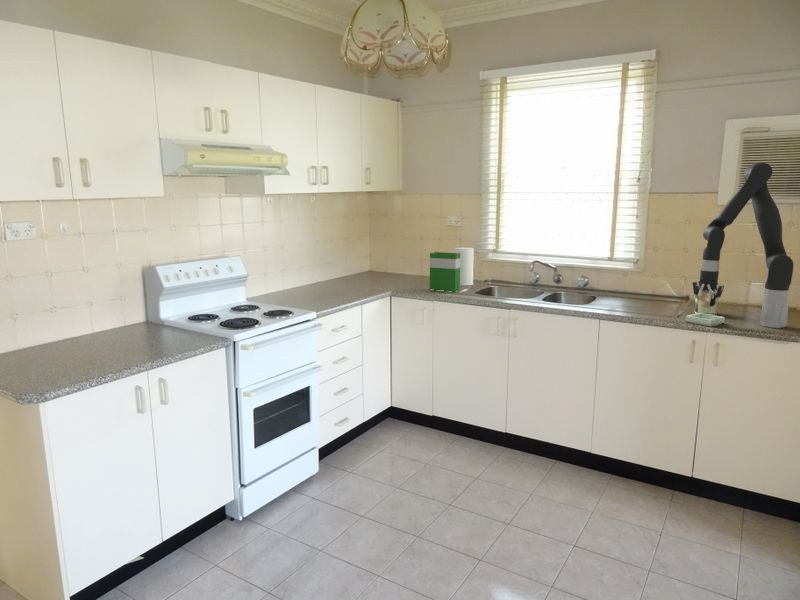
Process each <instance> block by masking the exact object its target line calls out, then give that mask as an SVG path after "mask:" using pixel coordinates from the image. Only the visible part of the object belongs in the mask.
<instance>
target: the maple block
mask: <svg viewBox="0 0 800 600" xmlns="http://www.w3.org/2000/svg"><path fill="white" fill-rule="evenodd" d="M711 299H712V298H711V293H709V291H702V292H699V298H698V306H699V307H705V308H711V307H714V306H710V302H711Z"/></svg>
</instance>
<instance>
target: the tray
mask: <svg viewBox="0 0 800 600" xmlns="http://www.w3.org/2000/svg"><path fill="white" fill-rule="evenodd" d="M725 320H726V319H725V317H724V316H719V315H709V314H704V313H692V314H688V315H685V321H684V322H685V323H688V322H689V323H688V324H694V325H699V326H704V327H709V328H712V327H716V326H719V324H720V325H723V324H722V323H724V324H725Z"/></svg>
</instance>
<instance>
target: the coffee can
mask: <svg viewBox="0 0 800 600" xmlns="http://www.w3.org/2000/svg"><path fill="white" fill-rule="evenodd" d="M698 288H699V290H700V288H701V287H700V285H699V286H698ZM715 290H716V293H717V290H718V289H717V287H716V288H715ZM697 301H698V296H697V295H695V301H694V311H693V313H694V312H695V313H694V314H696V313H704V314H709V315H715V314H716V315H717V312H718V304H719V303H718V302H719V298H716V301H715V305H714V307H711V308H705V307H699V306H698V302H697ZM716 315H715V316H716Z"/></svg>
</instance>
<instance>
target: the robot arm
mask: <svg viewBox="0 0 800 600" xmlns="http://www.w3.org/2000/svg"><path fill="white" fill-rule="evenodd" d="M772 176H773V167H772V166H771V165H770V164H769V163H767V162H757V163H754V164H751V165H749V166H747V168H746V169H745V170H744V173H743V178H744V179H743V180H744V183H743V185H742V186H740V188H739V190H737V192H736V193H735V194H734V195H733V196H731V198H730V199H729V200H728V201H727V202H726V203H725V205H724V206H723V207H722V208H721V210H720V211H719V213H718V215H716V216H715V218H714V219H712V220H711V221H710V223H709V224H707V225H706V227H705V229H703V233H702V236H703V237H702V238H703V239H704V240H705V241H707V244H706V247H704V249H703V250H702V251H703V252H702V260H701V265H700V272H699V280H698V281H694V282H692V289H693V295H695V296H696V295H697V296H698V298H699V292H702V291H709V293H711V298H712V299H711V302H710V306H714V305H715V301H716V298H718V299H719V298H721V296H722V294H723V292H724V288H725V285H721V284H719V283H718V280H719V274H720V263H721V262H720V259H721V252H722V251H721V250H722V248H723V245H724V243H725V238H726V235H725V234H726V233H725V228H726V227H728V226H731V224H733V223H734V221H735V220H736V218H737V217H738V215H740V213H741V212H742V210H744V208H745V206H747V204H748V202H749V201H750V200H751V204H752V209H753V213H754V217H755V222H756V226H757V228H758V229H757V230H758V233H759V237H760V239H761V241H762V244H763V248H764V255H765V264H766V268H767V269H768V271H767V278H766V282H764V283H765V284H764V291H763V299H762V307H761V308H762V309H761V316H760V324H759V325H760V326H762V327H765V328H766V327H767V328H773V329H775V328H776V329H782V328H786V327H787V324H788V323H787V322H788V314H789V307H790V306H789V305H788V301H789V300H788V299H789V290H790V286H791V284H792V279H793V273H794V260H793V259H792V257H790V256H789V255H788V254H787V252H786V250H785V247H784V242H783V223H782V218H781V213H780V210H779V207H778V206H777V204H776V202H775V201H774V199H773V198H772V196H771V193H770V191H769V188H768V187H769V186H768V181H769V180H770V179H771V178H772ZM699 285H700V287H701V288H700V290H699V288H698V286H699ZM716 287H717V289H718V290H717V293H716V290H715V288H716ZM697 302H698V301H697Z"/></svg>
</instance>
